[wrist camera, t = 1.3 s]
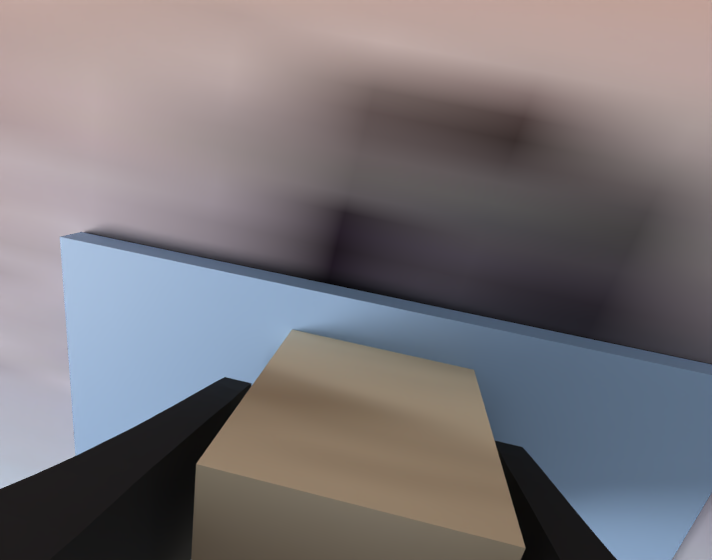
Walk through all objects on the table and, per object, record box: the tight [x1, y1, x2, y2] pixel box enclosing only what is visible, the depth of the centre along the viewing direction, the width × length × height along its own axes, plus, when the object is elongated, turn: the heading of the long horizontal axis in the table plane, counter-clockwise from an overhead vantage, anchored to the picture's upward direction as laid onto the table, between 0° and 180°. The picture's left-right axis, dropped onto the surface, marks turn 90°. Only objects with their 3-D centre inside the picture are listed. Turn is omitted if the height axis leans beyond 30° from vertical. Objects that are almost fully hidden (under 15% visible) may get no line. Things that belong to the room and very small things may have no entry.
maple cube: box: [191, 330, 525, 560], centre depth 7 cm, size 4×4×4 cm
